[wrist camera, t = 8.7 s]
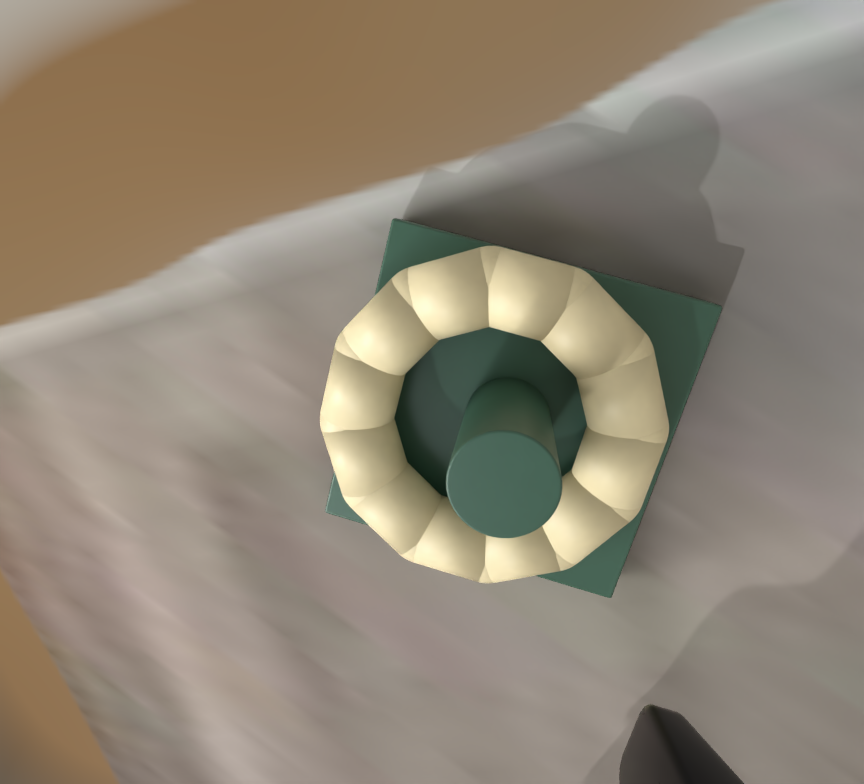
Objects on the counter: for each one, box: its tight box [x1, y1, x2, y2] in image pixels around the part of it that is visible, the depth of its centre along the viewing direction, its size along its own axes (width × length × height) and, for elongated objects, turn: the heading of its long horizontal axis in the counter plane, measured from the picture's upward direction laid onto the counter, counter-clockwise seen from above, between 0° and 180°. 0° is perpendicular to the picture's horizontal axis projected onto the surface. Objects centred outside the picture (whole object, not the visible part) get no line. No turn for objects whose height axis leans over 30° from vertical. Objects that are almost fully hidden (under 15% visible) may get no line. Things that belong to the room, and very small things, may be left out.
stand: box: [325, 218, 722, 598], centre depth 16 cm, size 9×9×6 cm
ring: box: [320, 246, 669, 583], centre depth 17 cm, size 9×9×2 cm
